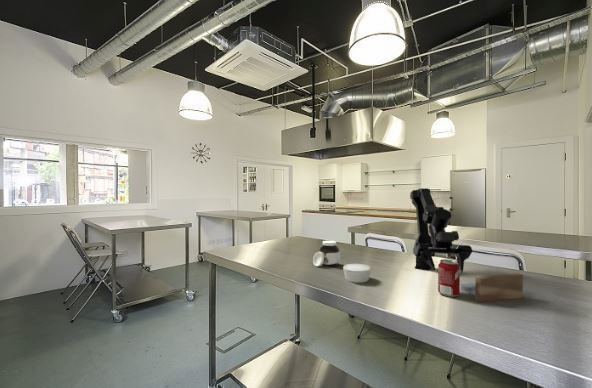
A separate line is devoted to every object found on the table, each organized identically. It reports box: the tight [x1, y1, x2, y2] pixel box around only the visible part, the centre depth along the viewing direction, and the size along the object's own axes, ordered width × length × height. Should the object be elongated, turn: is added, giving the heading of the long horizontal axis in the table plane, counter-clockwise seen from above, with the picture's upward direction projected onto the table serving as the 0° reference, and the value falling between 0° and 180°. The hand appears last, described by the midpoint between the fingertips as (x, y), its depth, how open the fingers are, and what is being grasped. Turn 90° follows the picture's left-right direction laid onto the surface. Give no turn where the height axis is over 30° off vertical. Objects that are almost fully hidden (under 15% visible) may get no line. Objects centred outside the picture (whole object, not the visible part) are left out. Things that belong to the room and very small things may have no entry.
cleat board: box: [460, 272, 524, 303], centre depth 99 cm, size 12×18×8 cm, turn 103°
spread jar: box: [312, 240, 341, 268], centre depth 136 cm, size 12×11×12 cm
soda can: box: [437, 258, 461, 298], centre depth 98 cm, size 7×7×12 cm
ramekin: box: [342, 263, 371, 284], centre depth 114 cm, size 11×11×5 cm
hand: (448, 271), depth 98 cm, fingers open, 9 cm apart
